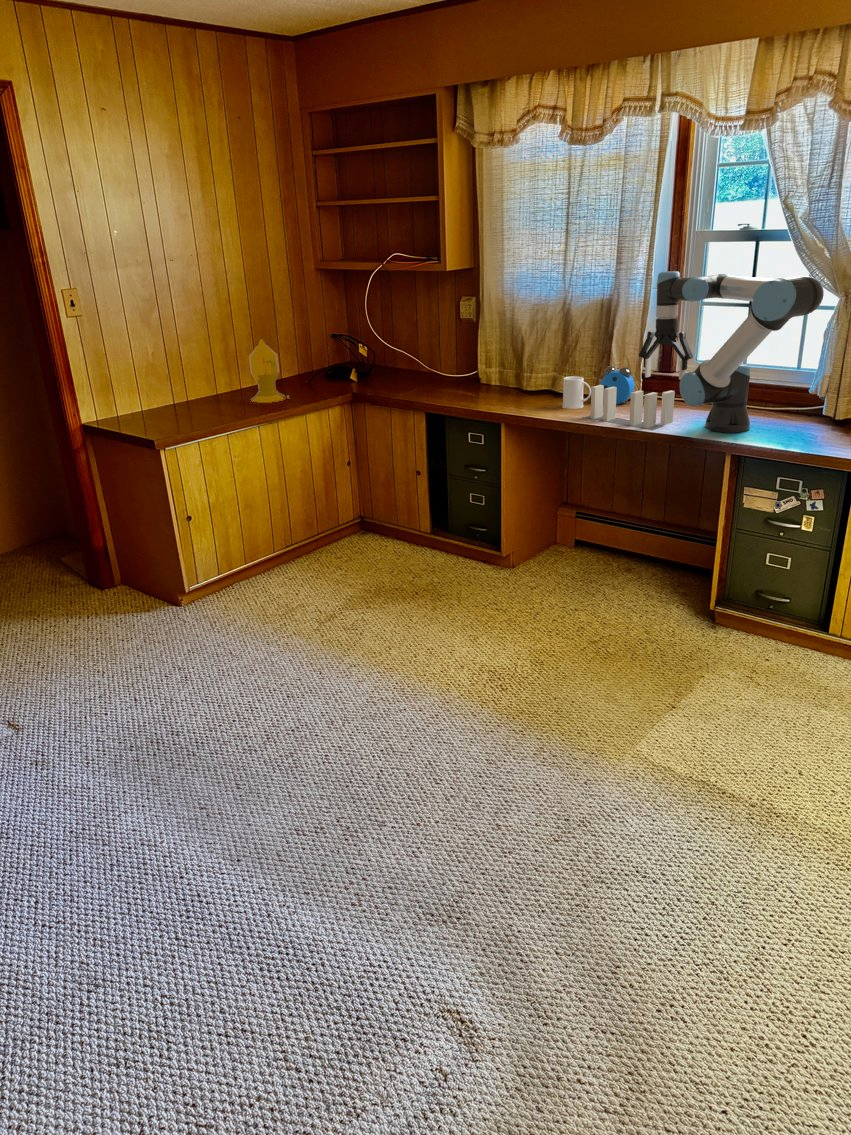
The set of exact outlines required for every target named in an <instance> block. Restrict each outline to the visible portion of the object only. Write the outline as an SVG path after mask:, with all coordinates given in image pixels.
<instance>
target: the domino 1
mask: <svg viewBox="0 0 851 1135" xmlns="http://www.w3.org/2000/svg"><path fill="white" fill-rule="evenodd" d="M590 388H591V395H590V415H591V418H592V419H596V418H599V417H603V410H604V398H603V394H604V385H600V384H598V385H596V386H590Z"/></svg>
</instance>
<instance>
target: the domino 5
mask: <svg viewBox="0 0 851 1135" xmlns="http://www.w3.org/2000/svg"><path fill="white" fill-rule="evenodd" d="M675 394H676V392H675V390H667V391H663V392H662V396H661V408H660V423H659V425H662V426H665V425H668V424H672V423H673V421H674V410H675V409H674V408H675Z"/></svg>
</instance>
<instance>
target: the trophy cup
mask: <svg viewBox="0 0 851 1135" xmlns="http://www.w3.org/2000/svg"><path fill="white" fill-rule="evenodd" d="M248 359H249V360H248V361H249V368H250V374H251V376H252V377H253V379H254V380H255V382H256V383H257V387H258V391H257V392H256V394H255V395H254V396H253V397H251V398H250V399H249V400H251V401H252V402H257V403H272V402H279V401H283V400H285V399H286V398H287V399H289V400H290V395H289V394H288V395H285V394H283V393H281V392H280V391H278V389H277V386H276V381H277V379H278V376H279V374H280V365H279V364H280V363H279V356H278V353H277V352H275V351H274V350H273V349H272V348H271V347H270V346H269V345H267V344H266V342H265V340H264V339H262V338H261V339H259V341H258V345H257V346H255V347H254V349H253V351H252V352H251V353H250V354H249V356H248ZM251 401H250V402H251Z"/></svg>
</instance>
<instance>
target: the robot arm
mask: <svg viewBox="0 0 851 1135" xmlns="http://www.w3.org/2000/svg"><path fill="white" fill-rule="evenodd" d="M656 281H657V282H656V308H655V309H656V311H655V316H656V318H655V331H654V330H650V331H647V335H646V339H645V341H644V343H643V345H642V347H641V349H640V352H639V354H638V356H639V358H642V359H643V369H644V368H645V369H644V378H649V377H651V376H652V358H651V356H652V355H653V354H654V352H655V351H656V350H657V348H658V347H659V346H660V345H667V346H669V345H670V346H671V347H672V348H673V349H674V351H675V352H676V353H677V355H678V357H679V358H680V359H681V360H680V361H679V364H678V365H679V369H678V380H680V381H679V393H680V396H681V398H682V400H683V401H684V403H685V404H687V405H689V406H693V407H700V406H703V405H708V404H711V408H710V410H709V413H708V414H707V417H706V420H705V424H704V427H705V428H706V429H707V430H710V431H711V432H718V433H743V432H747V431H749V430H750V425H751V420H750V416H749V412H748V411H749V410H748V408H747V406H748V404H747V403H748V396H749V387H750V378H751V367H750V366H749V365H748V364H746V363H744V362H745V361H746V360H747V359H748V357H750V355H751V354H753V352H754V351H755V350H756V349H757V347H759V346H760V345H761V343H762V342H763V341H764V340H765V339H766V338H767V337H768V336H769V335H770V334H771V333H772V332H776V331H779V330H781V329H782V328H783V327H784V326H785V325H786V324H787V323H788V322H789V321H790V320H791V319H793V318H795V317H801V316H803V317H804V316H806V315H809V314H812V313H813V312H815V311H816V310H817V309H818V308H819V307H820V306H821V303H822V301H823V298H824V295H825V294H824V288H823V285H822V283H821V282H820V281H819V280H818V279H817V278H816V277H813V276H808V275H802V276H792V277H785V278H783V277H781V278H779V277H778V278H765V277H752V276H751V277H750V276H740V275H739V276H738V275H731V274H728V273H727V274H726V273H718V274H714V275H704V276H703V275H702V276H695V277H692V276H691V277H681V273H680V271H678V270H677V271H676V270H673V271H662V272H661V271H660V272H659V273H658V275H657V280H656ZM708 299H722V300H723V299H724V300H725V299H728V300H737V301H743V302H744V301H746V302H751V305H750V308H749V311H750V314H749V315H748V316H747V318H745V320H744V321H742V323H741V324H740V325H739V327H737V328H736V330H735V331H734V332H733V333H732V335H730V337H729V338H728V339H727V340H726V341H725V343H724V344H723V345H722V346H721V347H720V348H719V349H718V350H717V352H715V353H714V355H712V357H711V358H710V359H705V360H703V361H702V362H701V363H700V364H699V365H698V366H697V367H696V369H695V370H694V371H693V370H692V371H688V372H686V370H687V369H688V361H689V360H692V359H693V358H694V355H693V353H692V350H691V347H690V345H689V343H688V341H687V338H686V336H687V335H686V331H680V332H678V325H679V324H678V322H679V319H678V316H679V301H685V302H686V301H687V302H700V301H703V300H708ZM677 337H678V339H679V341H678V340H677ZM654 338H656V339H655V341H654V342H653V344H652V345H651V343H652V341H653V339H654ZM679 342H680V343H679Z"/></svg>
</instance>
